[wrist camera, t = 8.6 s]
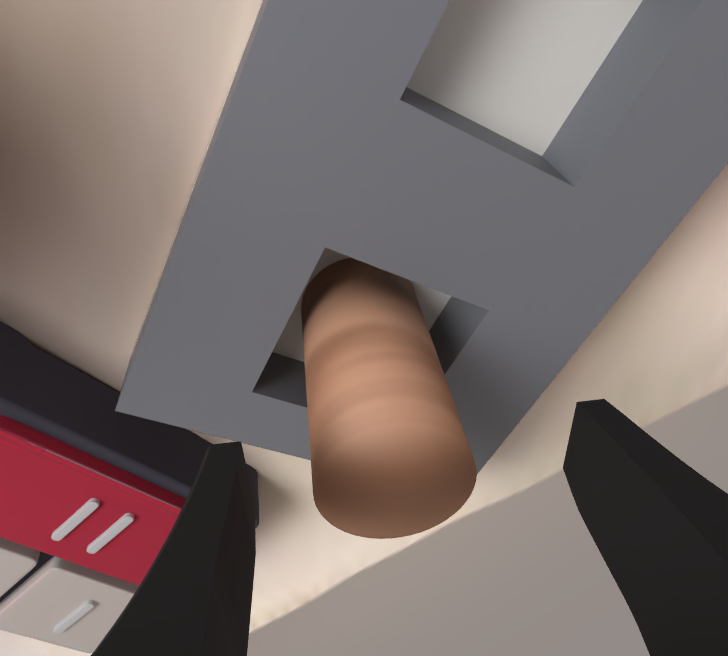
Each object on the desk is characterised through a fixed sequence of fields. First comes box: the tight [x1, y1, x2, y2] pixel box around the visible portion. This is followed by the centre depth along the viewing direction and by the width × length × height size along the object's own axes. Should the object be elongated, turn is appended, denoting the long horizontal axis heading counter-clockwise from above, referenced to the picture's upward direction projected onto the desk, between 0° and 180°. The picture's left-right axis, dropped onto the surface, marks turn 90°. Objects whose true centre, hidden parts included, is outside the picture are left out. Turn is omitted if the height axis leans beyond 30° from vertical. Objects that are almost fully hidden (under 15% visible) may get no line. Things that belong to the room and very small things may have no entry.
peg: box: [301, 258, 477, 539], centre depth 18 cm, size 4×4×8 cm
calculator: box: [0, 321, 259, 653], centre depth 23 cm, size 11×4×15 cm
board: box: [115, 0, 728, 474], centre depth 19 cm, size 13×20×3 cm, turn 153°
